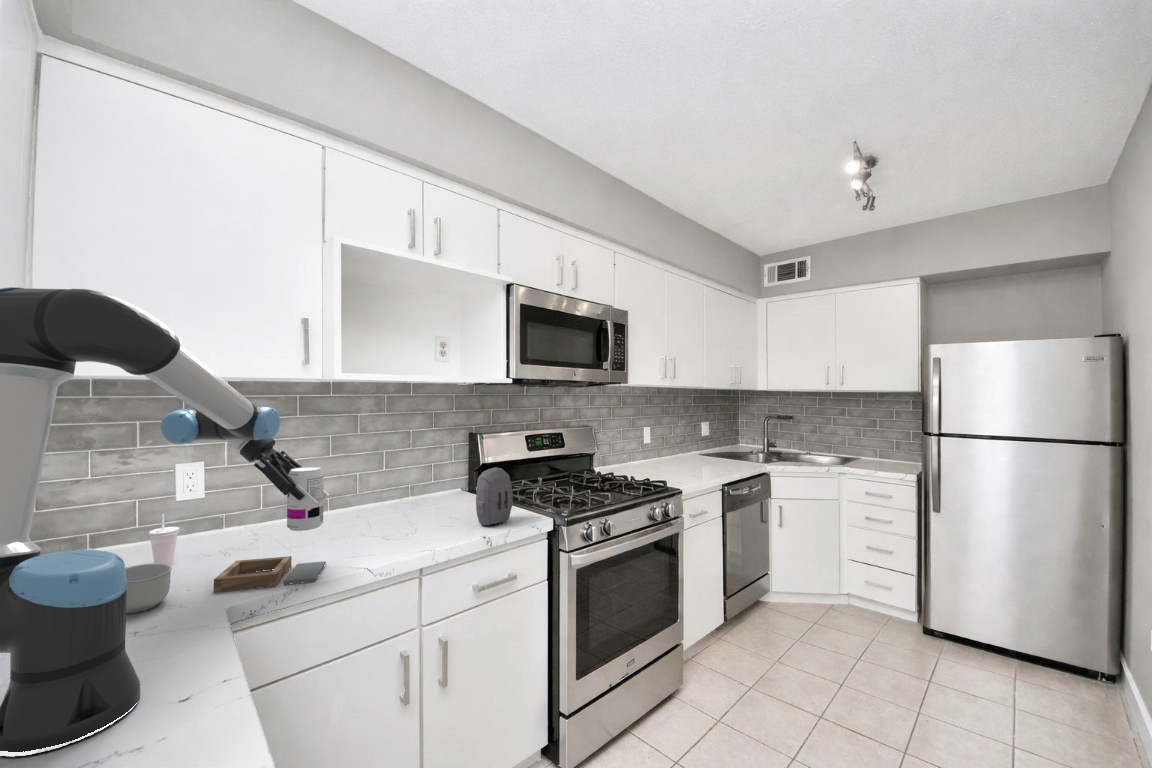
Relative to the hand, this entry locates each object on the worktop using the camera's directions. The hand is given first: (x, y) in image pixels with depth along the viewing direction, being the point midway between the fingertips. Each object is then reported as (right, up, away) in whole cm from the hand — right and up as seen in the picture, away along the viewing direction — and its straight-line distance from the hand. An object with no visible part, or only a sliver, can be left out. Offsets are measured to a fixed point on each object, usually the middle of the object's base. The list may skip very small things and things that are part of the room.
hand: (319, 502), depth 127 cm
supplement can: (-3, -6, -1) cm, 7 cm away
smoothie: (-45, -19, +5) cm, 49 cm away
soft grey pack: (+38, -19, +46) cm, 63 cm away
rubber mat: (-3, -18, -1) cm, 19 cm away
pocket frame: (-14, -18, -4) cm, 24 cm away
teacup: (-30, -18, -21) cm, 41 cm away
